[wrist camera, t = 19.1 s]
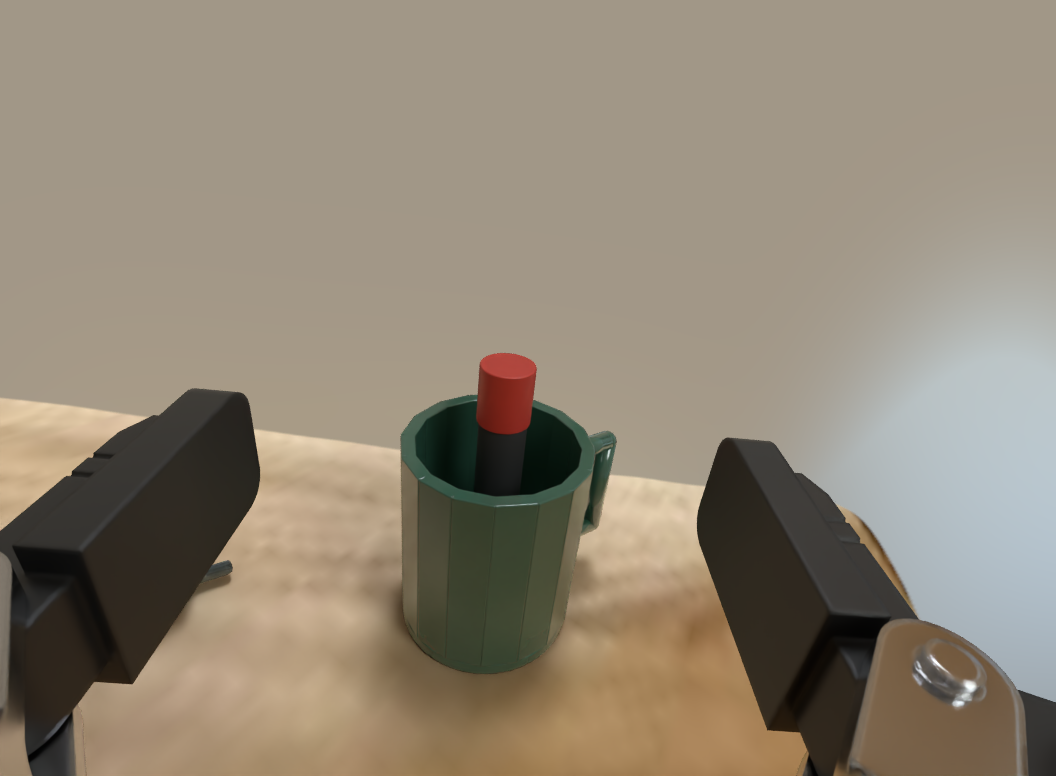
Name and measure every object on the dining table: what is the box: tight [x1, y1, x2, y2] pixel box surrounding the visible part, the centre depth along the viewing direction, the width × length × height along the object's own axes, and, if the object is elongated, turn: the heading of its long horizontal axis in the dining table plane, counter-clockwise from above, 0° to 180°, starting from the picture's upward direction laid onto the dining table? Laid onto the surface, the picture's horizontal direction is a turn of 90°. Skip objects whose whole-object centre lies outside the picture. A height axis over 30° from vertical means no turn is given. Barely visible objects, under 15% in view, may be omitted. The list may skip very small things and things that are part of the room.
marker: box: [474, 353, 537, 496], centre depth 24 cm, size 2×2×12 cm
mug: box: [401, 395, 616, 674], centre depth 26 cm, size 11×8×10 cm
